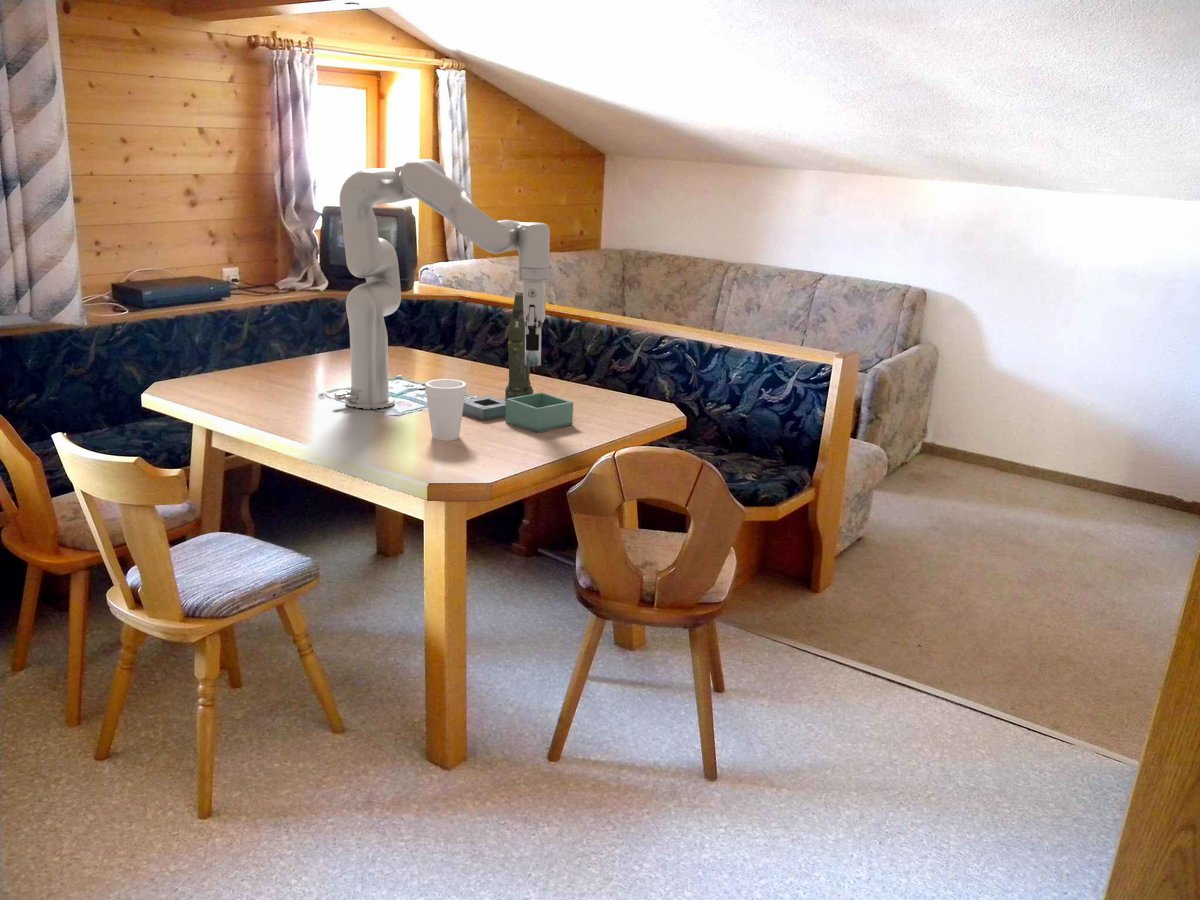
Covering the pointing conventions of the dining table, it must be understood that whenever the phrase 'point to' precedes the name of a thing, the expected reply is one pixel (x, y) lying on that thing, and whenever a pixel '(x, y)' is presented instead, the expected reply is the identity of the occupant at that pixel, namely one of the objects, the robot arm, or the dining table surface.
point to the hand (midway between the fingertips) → (532, 347)
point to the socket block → (485, 408)
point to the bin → (539, 412)
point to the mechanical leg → (517, 353)
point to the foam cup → (445, 407)
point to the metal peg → (533, 356)
